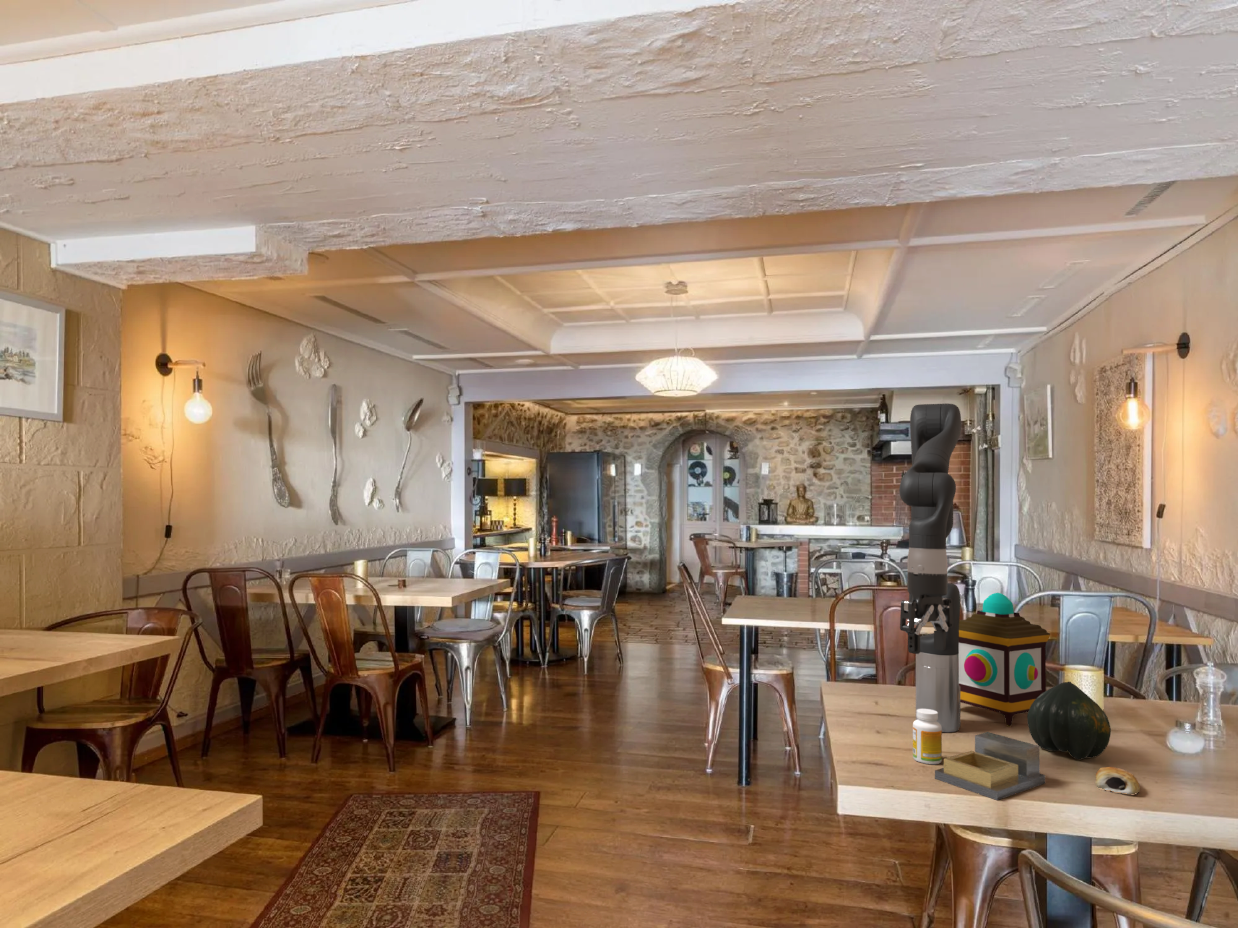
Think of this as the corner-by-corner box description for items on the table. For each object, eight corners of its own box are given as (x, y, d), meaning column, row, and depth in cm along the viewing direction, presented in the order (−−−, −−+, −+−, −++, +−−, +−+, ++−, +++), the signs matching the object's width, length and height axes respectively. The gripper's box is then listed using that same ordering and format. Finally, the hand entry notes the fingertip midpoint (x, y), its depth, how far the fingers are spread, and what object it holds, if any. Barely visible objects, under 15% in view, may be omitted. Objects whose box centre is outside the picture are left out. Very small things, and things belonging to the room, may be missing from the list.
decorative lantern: (1011, 730, 173) (1010, 598, 175) (937, 708, 190) (937, 589, 192) (1062, 719, 183) (1061, 595, 184) (987, 700, 200) (987, 586, 202)
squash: (1059, 739, 148) (1096, 679, 152) (1001, 721, 162) (1037, 666, 166) (1104, 785, 150) (1140, 724, 154) (1043, 763, 164) (1077, 708, 168)
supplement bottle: (947, 762, 150) (947, 712, 150) (930, 766, 147) (930, 716, 147) (923, 754, 154) (923, 706, 155) (907, 758, 151) (907, 709, 152)
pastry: (1096, 776, 144) (1096, 755, 144) (1139, 784, 140) (1139, 763, 141) (1094, 790, 137) (1094, 769, 137) (1140, 800, 133) (1140, 778, 133)
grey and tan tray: (983, 763, 149) (983, 730, 149) (1045, 783, 139) (1045, 747, 139) (934, 778, 140) (934, 742, 141) (997, 800, 130) (997, 761, 131)
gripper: (931, 568, 160) (931, 645, 159) (889, 569, 152) (888, 651, 151) (964, 571, 153) (964, 651, 152) (922, 573, 146) (922, 657, 145)
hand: (927, 651), depth 152 cm, fingers open, 8 cm apart
